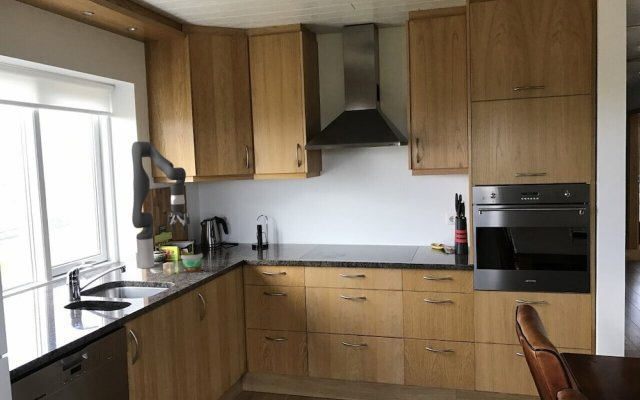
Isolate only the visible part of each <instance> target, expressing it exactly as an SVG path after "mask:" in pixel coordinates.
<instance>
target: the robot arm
mask: <svg viewBox="0 0 640 400" xmlns="http://www.w3.org/2000/svg"><path fill="white" fill-rule="evenodd" d="M131 156H132V157H131V159H132V168H133V169H132V170H133V171H132V172H133V175H132V177H133V183H132V188H133V189H132V190H133V201H132V202H133V205H132V216H131V220H132V225H133V227H134V228H135V229H142V230H141V231H140V232H139V233H137V234H136V250H137V251H136V252H135V256H136V257H135V261H136V268H137V269H150V268H153V267H155V253H154V238H153V236H154V217H153V215H152V213H151V211H143V205H144V203H145V201H146V199H147V197H148V195H149V193H150V191H151V189H150V188H151V187H150V186H151V185H150V184H151V182H150V181H151V180H150V178H149V175H148V172H146V170H145V169H144V165H143V158H150V159H151V160H152V161H154V166H155V167H156V168H158V170H160V171H161V172H163V174H164V175H165V176H166V178H167V179H168V180H170V181H175V183H174V184H171V186H170V208H171V209H170V211H171V212H167V224H170V230H171V232H176V223H177V222H180V223H181V225H182V232H183V233H187V232H188V225H190V224H191V220H190V213H185V211H186V205H185V203H186V201H185V195H184V194H185V193H184V187H185V184H186V183H185V182H186V179H187V172H186V170H185V169H184V168H183V167H180V166H179V167H175V166H174V164H173V163H172V161H170V160H169V159H167V158H166V156H164V155H162V153H160V152H159V150H158V149H156V147H155V146H154V145H153V144H152V143H151V142H148V141H134V142H133V143H132V145H131Z"/></svg>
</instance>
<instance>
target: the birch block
mask: <svg viewBox="0 0 640 400" xmlns="http://www.w3.org/2000/svg"><path fill="white" fill-rule="evenodd" d="M162 269H163V270H162V272H163V273H162V274H163V275H166V276H167V275H169V276H170V275H173V274H175V273H176V271H175V270H176V268H175V262H174V261H173V262H171V261H170V262H169V261H168V262H164V263H162Z"/></svg>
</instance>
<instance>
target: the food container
mask: <svg viewBox="0 0 640 400" xmlns="http://www.w3.org/2000/svg"><path fill="white" fill-rule="evenodd" d="M203 257H204V255H203V253H202V252H201V253H199V254H189V255H183V254H181V255H180V259H182V267H183V272H184V273H187V274H193V273H194V272H195V273H199V272H201V271H202V259H203Z"/></svg>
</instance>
